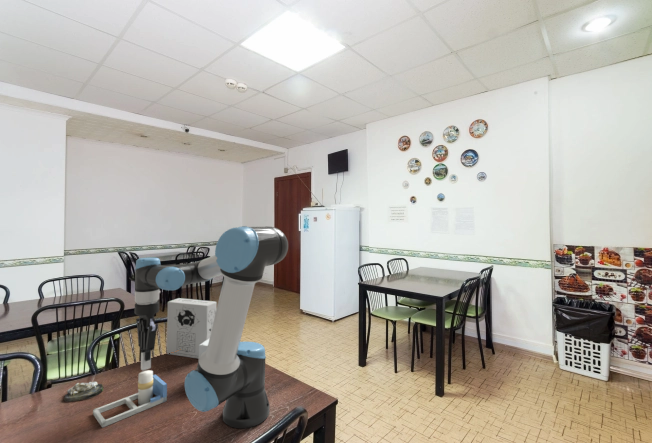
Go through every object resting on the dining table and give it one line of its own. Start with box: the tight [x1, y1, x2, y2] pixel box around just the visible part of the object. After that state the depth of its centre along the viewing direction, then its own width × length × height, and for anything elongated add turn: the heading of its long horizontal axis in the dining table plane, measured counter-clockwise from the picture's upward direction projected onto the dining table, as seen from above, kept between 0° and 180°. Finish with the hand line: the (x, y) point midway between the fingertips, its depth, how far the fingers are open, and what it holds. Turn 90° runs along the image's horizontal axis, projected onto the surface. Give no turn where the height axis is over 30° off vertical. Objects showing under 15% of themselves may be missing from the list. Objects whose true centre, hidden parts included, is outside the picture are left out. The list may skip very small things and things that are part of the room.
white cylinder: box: [137, 369, 154, 406], centre depth 109 cm, size 5×5×10 cm
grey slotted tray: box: [92, 374, 168, 429], centre depth 106 cm, size 19×10×6 cm, turn 140°
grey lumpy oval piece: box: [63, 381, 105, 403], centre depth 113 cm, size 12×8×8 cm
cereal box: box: [166, 297, 218, 360], centre depth 148 cm, size 22×8×25 cm, turn 76°
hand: (145, 368), depth 109 cm, fingers closed
